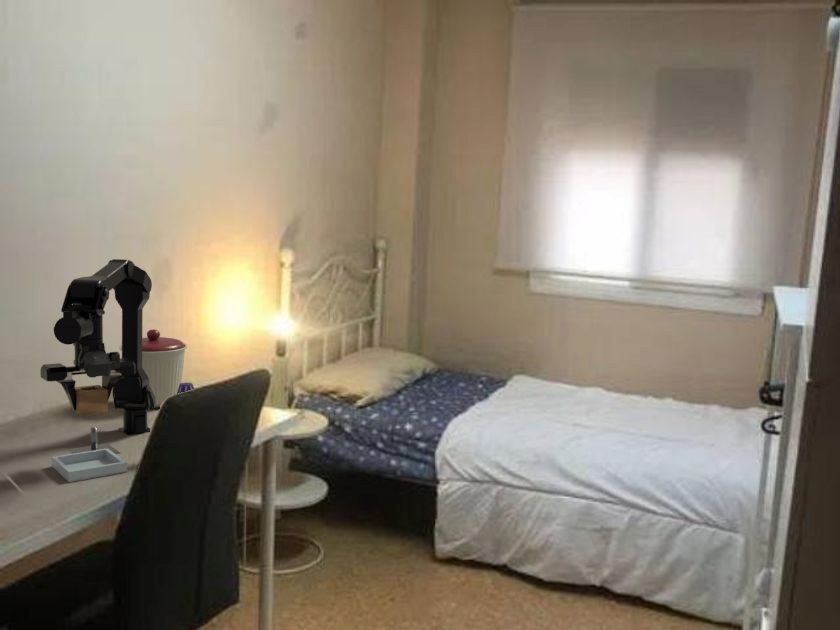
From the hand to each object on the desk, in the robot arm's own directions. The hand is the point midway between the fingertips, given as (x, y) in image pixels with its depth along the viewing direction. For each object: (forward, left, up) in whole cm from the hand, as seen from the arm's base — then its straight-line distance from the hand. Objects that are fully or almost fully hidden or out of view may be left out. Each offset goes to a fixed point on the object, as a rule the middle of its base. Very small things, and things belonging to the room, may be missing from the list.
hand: (89, 408), depth 193 cm
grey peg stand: (-8, +3, -13) cm, 15 cm away
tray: (+4, -2, -13) cm, 13 cm away
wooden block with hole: (-1, 0, -1) cm, 1 cm away
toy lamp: (+4, +20, -13) cm, 24 cm away
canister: (-44, +32, -13) cm, 56 cm away
